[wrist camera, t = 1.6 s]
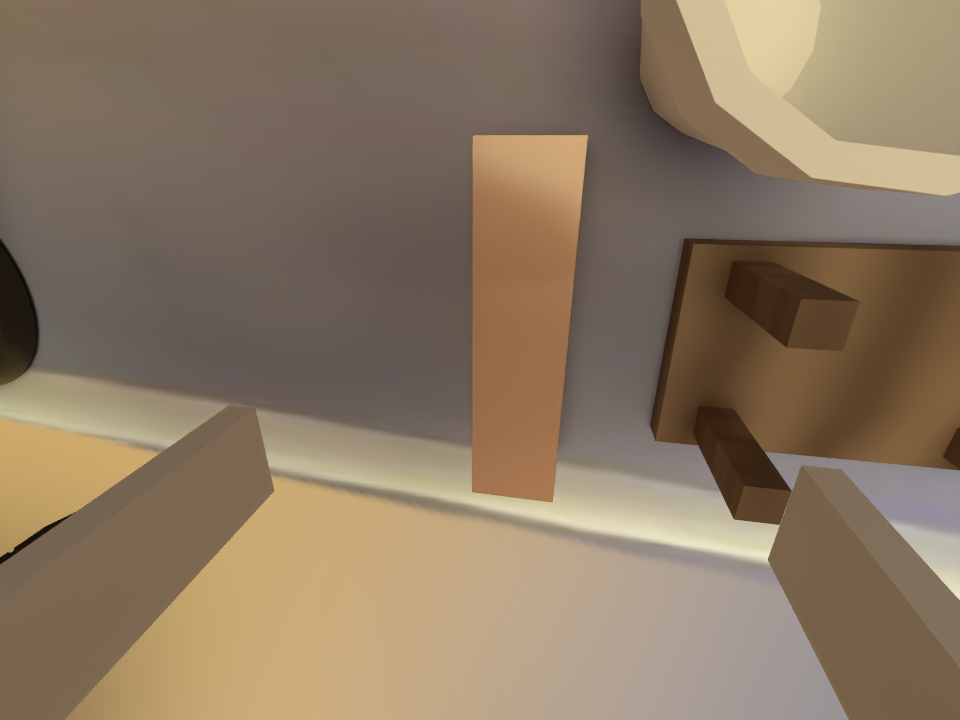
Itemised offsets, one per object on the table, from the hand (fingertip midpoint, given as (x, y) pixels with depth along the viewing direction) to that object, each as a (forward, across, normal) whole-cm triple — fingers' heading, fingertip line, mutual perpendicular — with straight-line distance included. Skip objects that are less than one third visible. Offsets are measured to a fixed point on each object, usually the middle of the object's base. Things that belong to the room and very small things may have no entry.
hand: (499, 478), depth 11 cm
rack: (+13, +15, -1) cm, 20 cm away
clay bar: (+14, 0, 0) cm, 14 cm away
